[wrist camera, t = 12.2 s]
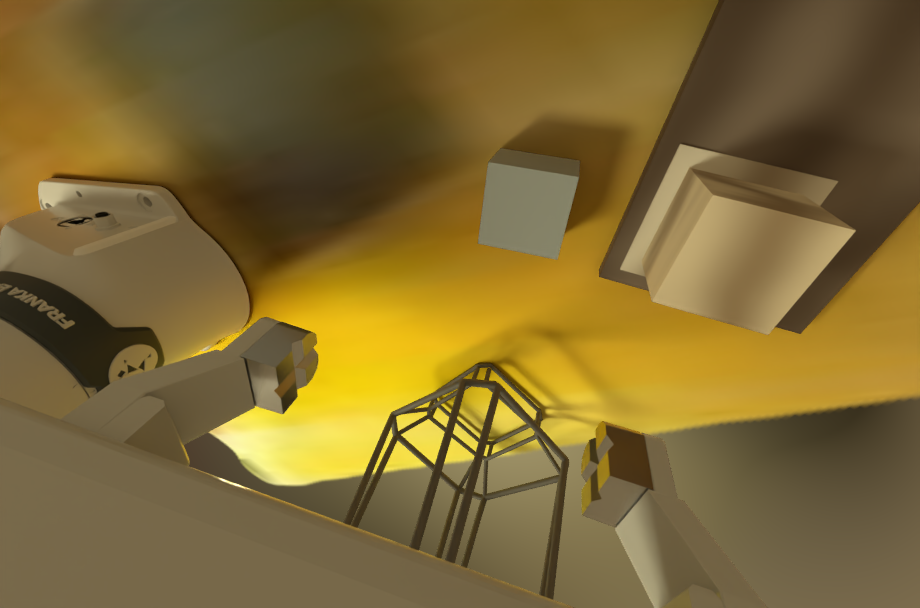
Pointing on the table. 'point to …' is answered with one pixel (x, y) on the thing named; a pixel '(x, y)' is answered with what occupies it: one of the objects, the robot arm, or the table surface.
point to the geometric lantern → (473, 470)
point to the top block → (527, 202)
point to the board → (794, 126)
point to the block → (739, 250)
